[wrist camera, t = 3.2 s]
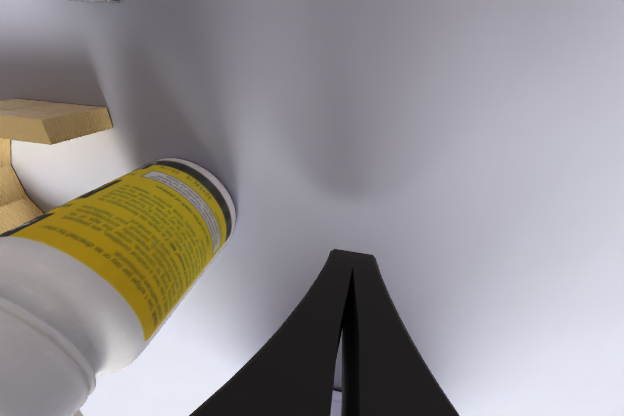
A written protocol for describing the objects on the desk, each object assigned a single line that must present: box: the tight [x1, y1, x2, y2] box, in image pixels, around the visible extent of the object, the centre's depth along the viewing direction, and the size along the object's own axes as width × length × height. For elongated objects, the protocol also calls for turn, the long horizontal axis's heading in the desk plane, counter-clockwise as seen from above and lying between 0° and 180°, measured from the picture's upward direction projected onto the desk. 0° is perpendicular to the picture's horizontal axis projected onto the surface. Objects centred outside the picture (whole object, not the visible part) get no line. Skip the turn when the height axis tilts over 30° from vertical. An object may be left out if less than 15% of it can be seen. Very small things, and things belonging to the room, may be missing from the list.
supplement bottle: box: [0, 158, 236, 416], centre depth 9 cm, size 5×5×8 cm
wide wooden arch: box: [0, 99, 113, 234], centre depth 12 cm, size 7×8×2 cm
